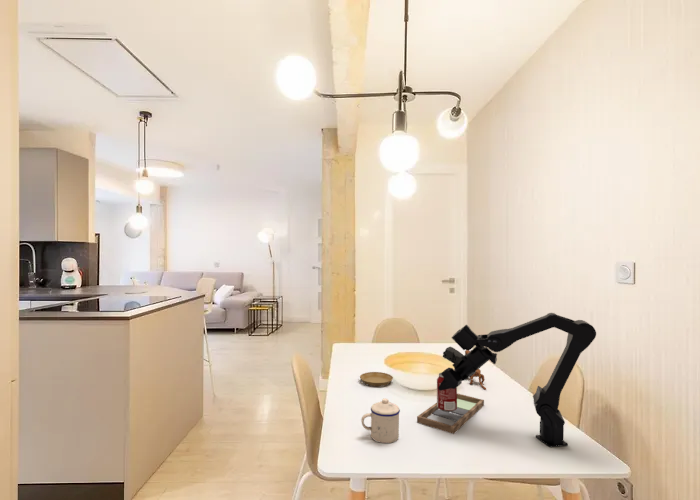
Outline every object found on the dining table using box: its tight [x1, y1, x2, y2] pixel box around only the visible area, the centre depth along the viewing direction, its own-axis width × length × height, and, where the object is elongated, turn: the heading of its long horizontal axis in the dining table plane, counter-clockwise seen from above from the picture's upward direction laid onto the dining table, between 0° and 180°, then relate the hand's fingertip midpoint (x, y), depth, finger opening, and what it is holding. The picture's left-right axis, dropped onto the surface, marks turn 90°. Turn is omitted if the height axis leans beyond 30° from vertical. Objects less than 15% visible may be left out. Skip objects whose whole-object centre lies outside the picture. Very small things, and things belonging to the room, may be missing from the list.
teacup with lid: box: [360, 398, 401, 444], centre depth 117 cm, size 12×9×12 cm
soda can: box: [436, 372, 458, 413], centre depth 130 cm, size 7×7×12 cm
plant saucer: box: [359, 371, 394, 388], centre depth 167 cm, size 15×15×3 cm
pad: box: [457, 399, 476, 411], centre depth 143 cm, size 8×11×1 cm
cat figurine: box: [464, 349, 487, 390], centre depth 168 cm, size 18×7×14 cm, turn 11°
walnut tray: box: [416, 392, 485, 435], centre depth 135 cm, size 30×13×2 cm, turn 143°
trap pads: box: [431, 408, 468, 422], centre depth 135 cm, size 11×11×1 cm
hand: (442, 386), depth 131 cm, fingers closed on soda can, 7 cm apart
